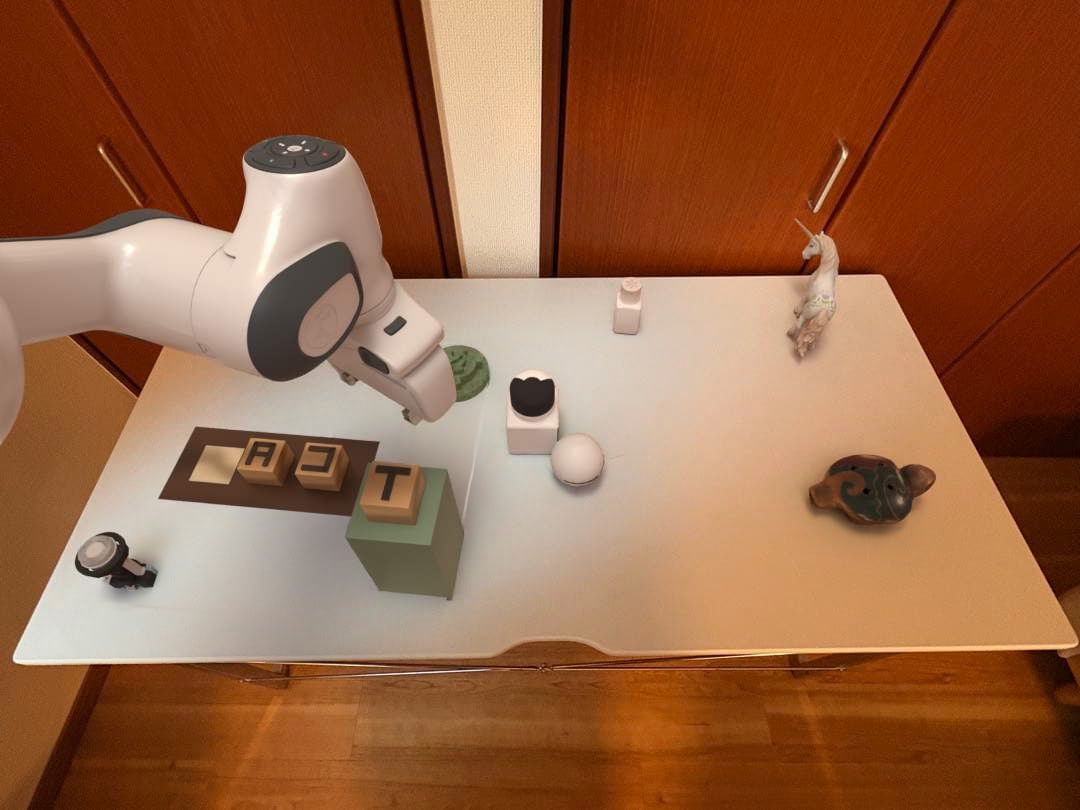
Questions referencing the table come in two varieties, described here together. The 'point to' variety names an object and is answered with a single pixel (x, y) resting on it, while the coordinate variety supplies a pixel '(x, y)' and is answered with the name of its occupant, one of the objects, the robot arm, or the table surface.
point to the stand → (412, 542)
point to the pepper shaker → (628, 306)
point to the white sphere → (577, 459)
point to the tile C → (322, 466)
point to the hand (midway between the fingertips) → (383, 398)
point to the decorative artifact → (468, 371)
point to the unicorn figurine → (817, 292)
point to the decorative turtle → (871, 488)
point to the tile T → (393, 493)
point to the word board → (216, 480)
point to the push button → (113, 562)
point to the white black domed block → (532, 413)
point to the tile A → (266, 462)
